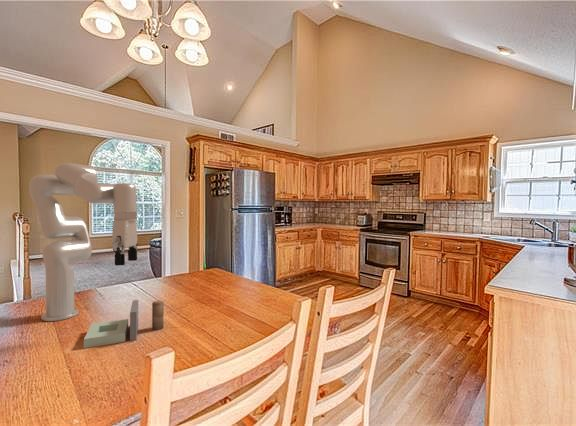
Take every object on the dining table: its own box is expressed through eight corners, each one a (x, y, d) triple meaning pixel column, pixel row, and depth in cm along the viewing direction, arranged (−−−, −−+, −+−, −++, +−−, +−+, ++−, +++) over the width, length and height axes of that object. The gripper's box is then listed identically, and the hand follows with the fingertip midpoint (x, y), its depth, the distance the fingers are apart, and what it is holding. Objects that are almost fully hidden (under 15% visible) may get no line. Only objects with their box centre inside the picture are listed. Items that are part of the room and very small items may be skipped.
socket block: (91, 331, 110) (91, 323, 110) (128, 326, 115) (128, 318, 115) (83, 348, 98) (83, 339, 98) (125, 341, 103) (125, 333, 102)
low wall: (132, 325, 116) (132, 300, 116) (138, 324, 117) (138, 299, 116) (130, 340, 103) (130, 312, 103) (136, 339, 104) (136, 311, 104)
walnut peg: (152, 326, 115) (152, 301, 115) (163, 325, 117) (163, 300, 117) (152, 331, 112) (152, 304, 111) (163, 329, 113) (163, 303, 113)
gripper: (126, 216, 118) (127, 259, 118) (101, 217, 101) (102, 267, 101) (145, 216, 118) (146, 258, 119) (124, 217, 101) (125, 267, 101)
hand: (126, 262), depth 110 cm, fingers open, 9 cm apart
